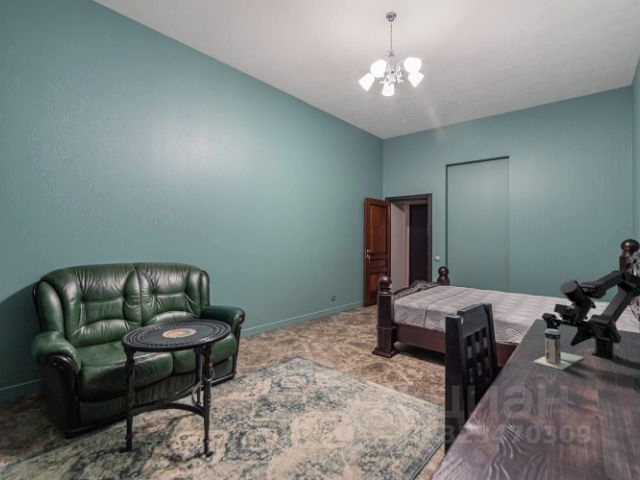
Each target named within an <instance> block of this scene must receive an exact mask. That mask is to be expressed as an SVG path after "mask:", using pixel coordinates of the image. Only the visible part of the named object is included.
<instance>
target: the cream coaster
mask: <svg viewBox="0 0 640 480" xmlns="http://www.w3.org/2000/svg"><path fill="white" fill-rule="evenodd" d="M533 363H534V364H539V365H542V366H545V367H550V368H553V369H557V370H559V371H563V370H565V369H566V368H568V367H571V366H572V365H573V363H572V362H568V361H564V360H561V363H559V364H553V363H549V362H547V361H546V360H545V356H542V357H539V358H537V359H535V360H534V361H533Z"/></svg>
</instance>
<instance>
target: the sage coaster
mask: <svg viewBox="0 0 640 480" xmlns="http://www.w3.org/2000/svg"><path fill="white" fill-rule="evenodd" d="M584 358H585V357H584V356H580V355H577V354H572V353H568V352H563V351H561V361H565V362H569V363H572V364H576V363H578V362H580V361H582V360H583V359H584Z"/></svg>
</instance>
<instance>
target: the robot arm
mask: <svg viewBox="0 0 640 480" xmlns="http://www.w3.org/2000/svg"><path fill="white" fill-rule="evenodd" d="M616 286H617V289H618V290H617V291H616V292H617V293H616V294H615V295H614V297H612V299H611V301H609V303H608V304H607V306H606V307H605V309H604V310H603V311H602V313H601V314H594V313H593V314H592V315H591V316H590V318H589V317H588V316H587V315H588V314H589V312H590V311H591V309H597V306H596V304H595V301H593V300H601V299H602V298H604V297H605V296H606V295H607V291H609V290H610V289H612V288H614V287H616ZM559 290H560V292H561V293H562V294H563V296H564V297H565V298H566V299H567V300H568V301H569V302H571V304H570V305H565V304H560V303H555V306H554V309H553V312H554V313H557V314H558V316H559V317H560V318H558V316H556V315H555V314H554V313H550V312H544V313H543V314H542V315H541V319H542V320H543V321H544V322H545V323H546V329H556V330H559V328H560V327H561V325H563V326H566V327H570V328H575V329H577V331H576V333H575V335H574V336H573V338H572V340H571V341H570V344H569V345H570V346H571V347H574V346H577V345H579V344H581V343H583V342H585V341H588V340H590V339H591V340H592V339H593V340H594V351H593V352H591V355H592V356H597V357H601V358H606V359H611V360H613V359H615V358H616V357H617V358H618V354H616V353H615V346H614V345H615V344H620V343H621V342H622V336H621V335H620V333H619V332H618V327H617V321H618V320H619V318H620V317H621V316H622V314H623V313H624V312H625V310H626V309H627V307H628V306H629V304H630V303H631V302H632V300H633V299H634V298H636V297H639V296H640V275H636V274H633V273H631V272H630V271H627V270H619V269H617V270H612V271H611V272H610V273H608V274H606V275H604V276H602V277H600V278H598V279H596V280H593V281H583V282H581V283H578V281H577V280H576V279H570V280H569V281H567V282H565V283H563V284H561V285H560V287H559ZM592 299H593V300H592Z"/></svg>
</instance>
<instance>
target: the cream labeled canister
mask: <svg viewBox="0 0 640 480" xmlns="http://www.w3.org/2000/svg"><path fill="white" fill-rule="evenodd" d="M544 341H545V342H544V346H545V347H544V349H545V360H546V361H547V362H549V363H553V364H559V363H561V361H562V360H561V352H562V351H561V350H562V349H561V332H560V330H559V329H558V330H556V329H547V328H546V329H545V331H544Z"/></svg>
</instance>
